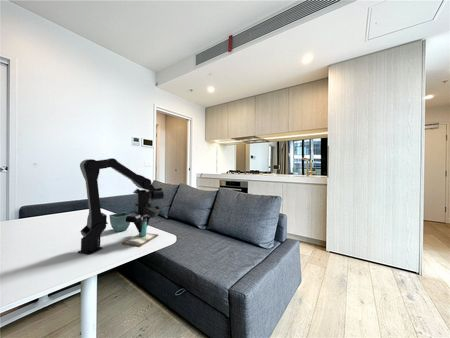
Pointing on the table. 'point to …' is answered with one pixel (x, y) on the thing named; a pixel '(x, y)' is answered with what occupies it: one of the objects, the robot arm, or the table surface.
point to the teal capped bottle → (143, 228)
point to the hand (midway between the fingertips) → (142, 231)
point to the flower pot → (119, 221)
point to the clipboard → (140, 240)
